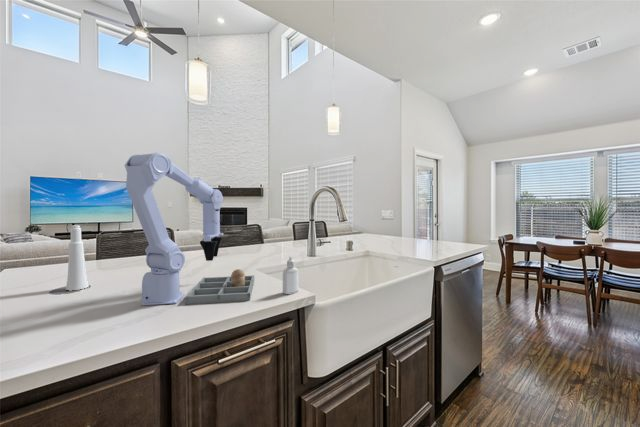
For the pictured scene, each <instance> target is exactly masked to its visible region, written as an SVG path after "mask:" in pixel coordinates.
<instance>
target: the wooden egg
mask: <svg viewBox="0 0 640 427" xmlns="http://www.w3.org/2000/svg"><path fill="white" fill-rule="evenodd" d="M230 275H231V276H230V277H231V287H242V286H245V276H246V275H245V272H244V271H243V269H240V268H238V269H234V270H233V271H232V273H231V274H230Z"/></svg>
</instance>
